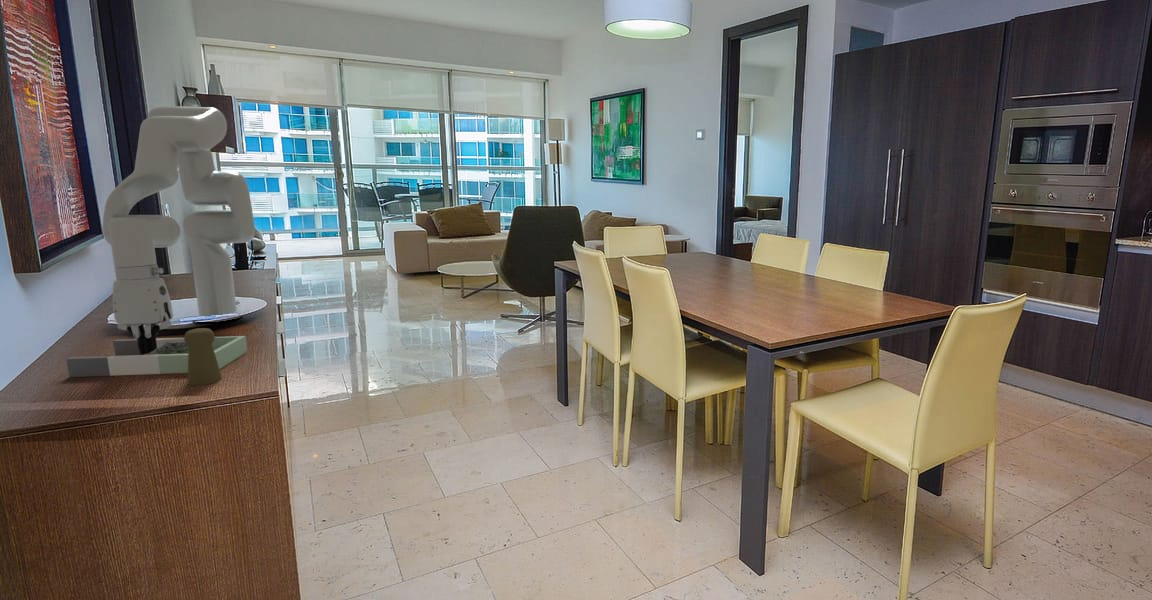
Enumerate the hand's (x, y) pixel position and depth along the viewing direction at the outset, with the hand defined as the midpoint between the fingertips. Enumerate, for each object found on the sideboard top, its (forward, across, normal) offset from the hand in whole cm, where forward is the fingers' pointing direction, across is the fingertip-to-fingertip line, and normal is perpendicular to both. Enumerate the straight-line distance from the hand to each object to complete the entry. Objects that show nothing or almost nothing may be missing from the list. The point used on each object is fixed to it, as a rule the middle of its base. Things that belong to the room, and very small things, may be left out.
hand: (148, 353), depth 132 cm
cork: (+3, -18, +14) cm, 23 cm away
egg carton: (+3, -8, 0) cm, 9 cm away
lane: (+3, -2, 0) cm, 3 cm away
